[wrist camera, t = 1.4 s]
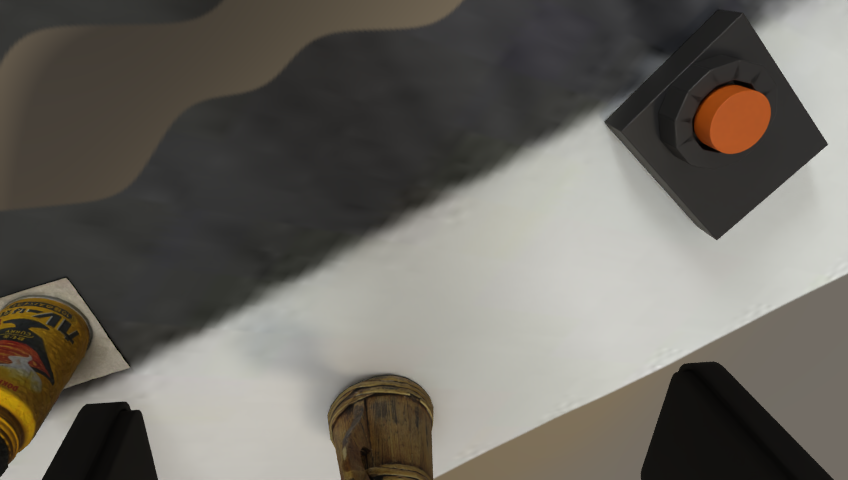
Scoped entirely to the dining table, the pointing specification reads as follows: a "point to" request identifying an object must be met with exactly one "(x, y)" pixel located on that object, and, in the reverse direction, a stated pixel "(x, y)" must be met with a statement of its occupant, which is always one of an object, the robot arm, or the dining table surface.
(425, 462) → the wooden mug
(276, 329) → the dining table surface
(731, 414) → the robot arm
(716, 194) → the switch base
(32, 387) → the condiment
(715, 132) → the switch
